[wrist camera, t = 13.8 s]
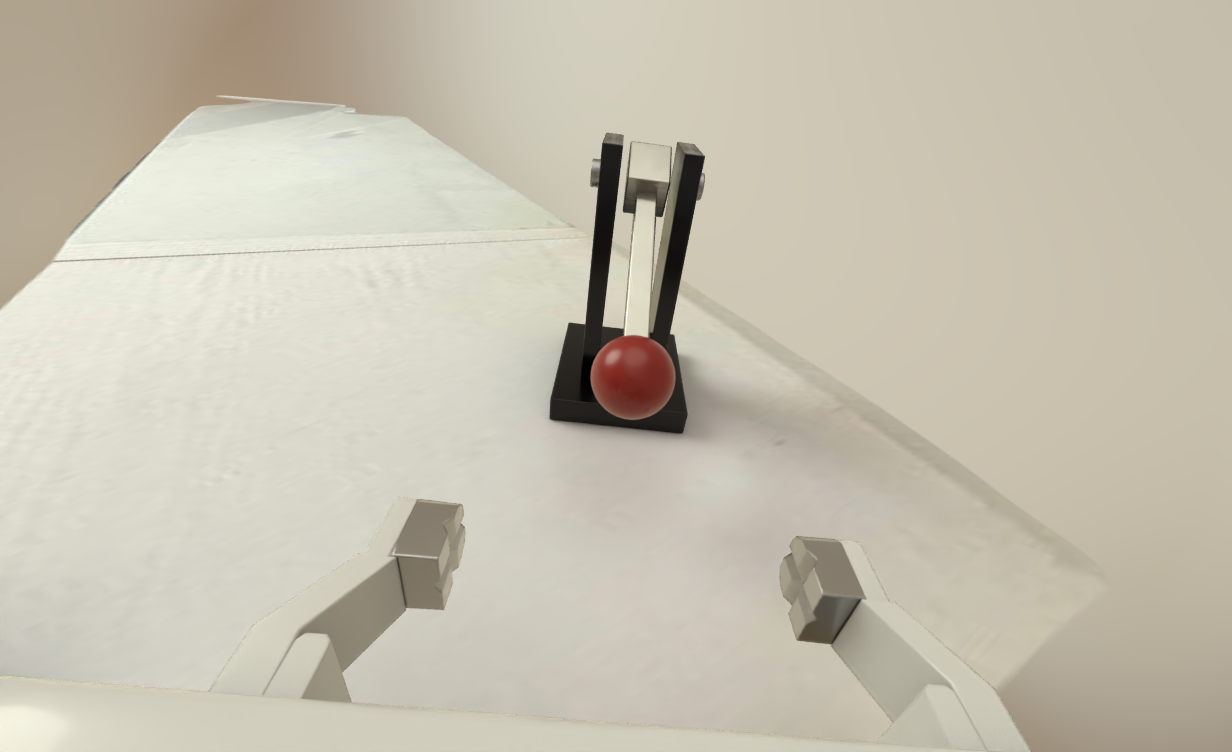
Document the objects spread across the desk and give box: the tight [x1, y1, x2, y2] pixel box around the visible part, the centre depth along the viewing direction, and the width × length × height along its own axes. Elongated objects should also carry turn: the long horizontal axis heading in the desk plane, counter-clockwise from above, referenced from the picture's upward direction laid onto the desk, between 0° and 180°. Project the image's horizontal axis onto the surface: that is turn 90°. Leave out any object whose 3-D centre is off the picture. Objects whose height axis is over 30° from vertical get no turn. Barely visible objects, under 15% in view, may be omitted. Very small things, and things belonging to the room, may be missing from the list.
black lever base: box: [550, 133, 705, 433], centre depth 29 cm, size 10×8×15 cm
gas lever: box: [591, 141, 675, 420], centre depth 23 cm, size 15×4×4 cm
